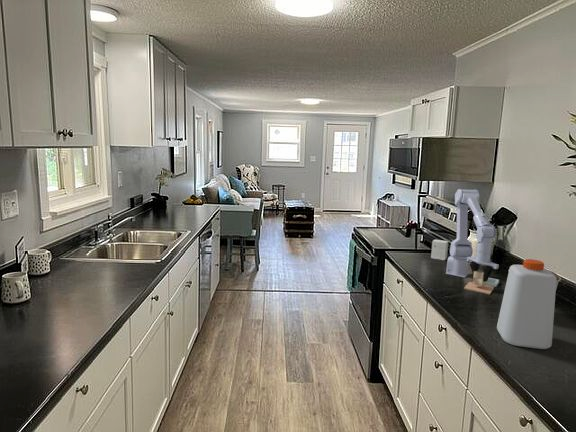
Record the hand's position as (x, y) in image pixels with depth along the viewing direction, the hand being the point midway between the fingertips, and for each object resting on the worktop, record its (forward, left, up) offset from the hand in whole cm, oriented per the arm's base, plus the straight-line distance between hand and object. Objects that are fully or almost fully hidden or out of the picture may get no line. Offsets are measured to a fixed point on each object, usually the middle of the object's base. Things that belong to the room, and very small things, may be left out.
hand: (480, 279), depth 194 cm
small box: (-30, +41, -5) cm, 51 cm away
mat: (0, 0, -4) cm, 4 cm away
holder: (+2, +12, -4) cm, 13 cm away
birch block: (0, 0, -2) cm, 2 cm away
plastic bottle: (+23, -46, -4) cm, 52 cm away
